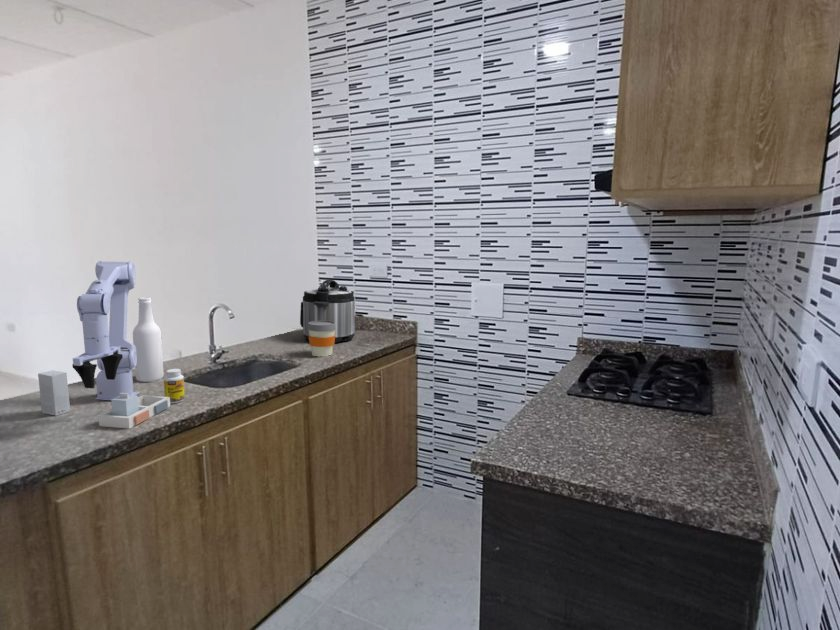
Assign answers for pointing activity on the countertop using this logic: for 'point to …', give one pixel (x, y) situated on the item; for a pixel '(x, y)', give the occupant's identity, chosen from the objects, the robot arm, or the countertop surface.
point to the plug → (125, 405)
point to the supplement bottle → (174, 385)
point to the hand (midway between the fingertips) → (100, 383)
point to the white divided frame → (146, 410)
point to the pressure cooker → (329, 309)
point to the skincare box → (54, 392)
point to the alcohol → (147, 344)
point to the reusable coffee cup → (321, 337)
